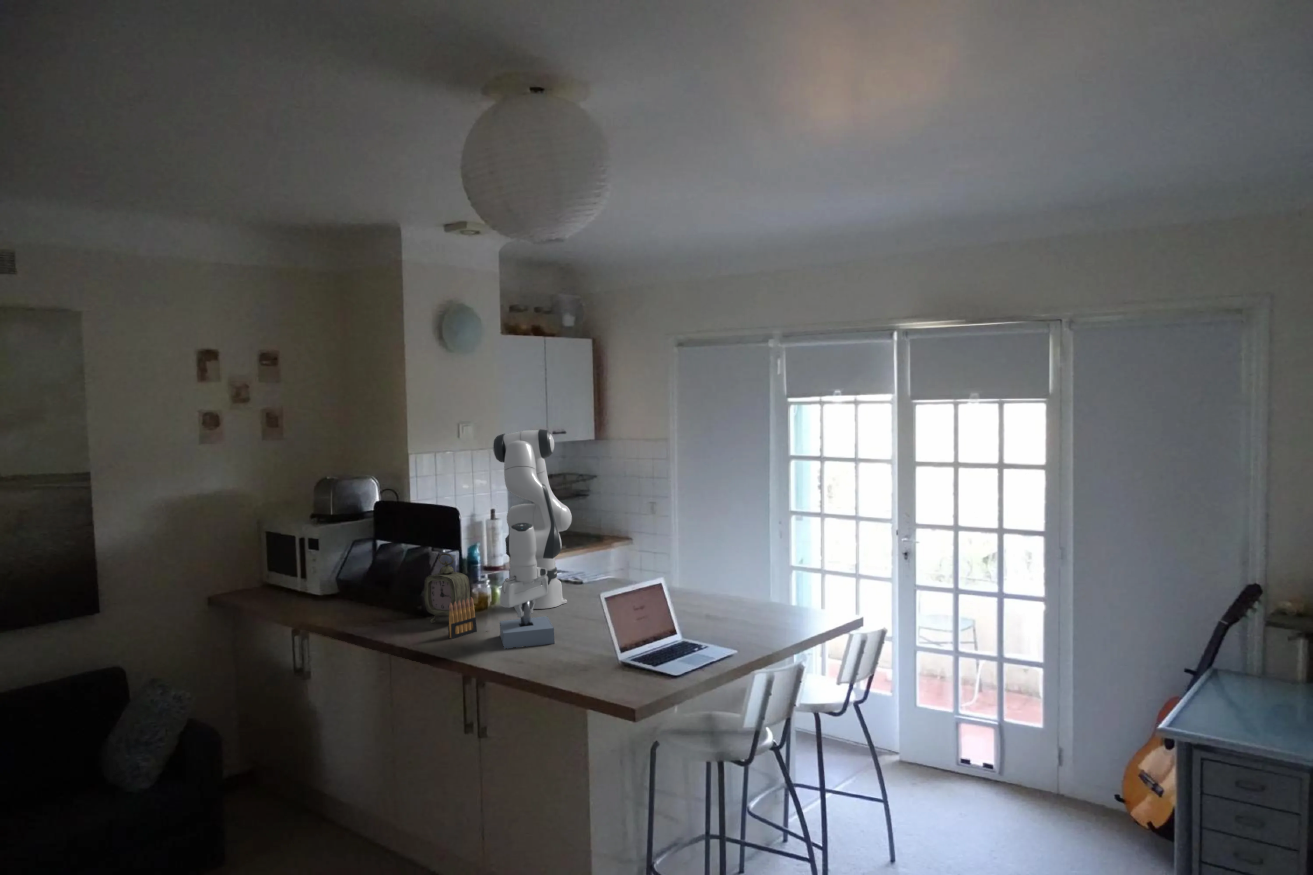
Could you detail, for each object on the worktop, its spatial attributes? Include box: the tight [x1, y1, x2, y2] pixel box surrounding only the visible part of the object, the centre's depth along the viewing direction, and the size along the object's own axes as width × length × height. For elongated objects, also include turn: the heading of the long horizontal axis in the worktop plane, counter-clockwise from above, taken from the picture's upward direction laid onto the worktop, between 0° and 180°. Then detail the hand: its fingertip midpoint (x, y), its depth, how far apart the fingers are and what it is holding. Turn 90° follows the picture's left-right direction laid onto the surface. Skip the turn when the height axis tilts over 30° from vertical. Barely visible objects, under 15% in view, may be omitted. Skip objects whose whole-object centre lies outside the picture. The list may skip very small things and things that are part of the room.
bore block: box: [499, 615, 555, 650], centre depth 279 cm, size 16×16×5 cm
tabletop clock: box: [423, 552, 471, 624], centre depth 304 cm, size 14×9×25 cm, turn 62°
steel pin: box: [520, 601, 532, 627], centre depth 278 cm, size 3×3×10 cm
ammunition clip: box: [447, 596, 478, 640], centre depth 287 cm, size 11×2×12 cm, turn 142°
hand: (525, 615), depth 278 cm, fingers closed on steel pin, 3 cm apart
